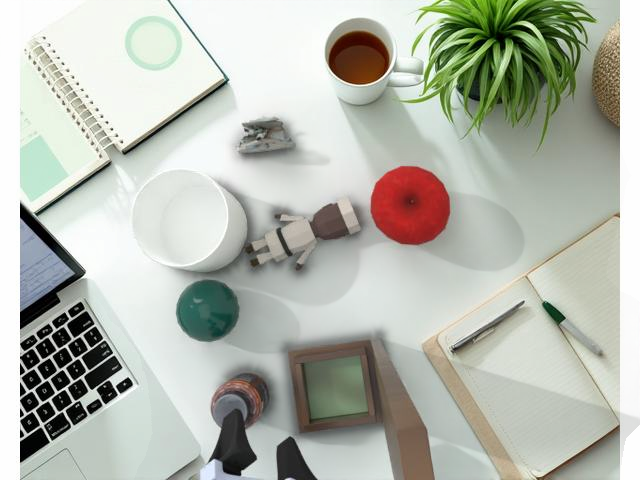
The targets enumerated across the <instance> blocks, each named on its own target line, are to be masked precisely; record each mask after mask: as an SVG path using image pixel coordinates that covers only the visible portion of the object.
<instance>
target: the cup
mask: <svg viewBox="0 0 640 480" xmlns="http://www.w3.org/2000/svg"><path fill="white" fill-rule="evenodd" d="M130 229H131V232H132V236H133V239H134V240H135V242H136V245H137V246H138V248H139V249H140V250H141V251H142V253H143V254H144V255H145V256H147V257H148V258H149V259H150V260H152V261H153V262H154V263H157V264H159V265H162V266H165V267H168V268H173V269H178V270H184V271H185V270H186V271H189V272H197V273H198V272H199V273H200V272H201V273H209V272H214V271H217V270H220V269H222V268H225V267H226V266H228V265H229V264H231V263H232V262H234V260H235V259H236V258H237V257H238V256H239V255H240V253H241V251H242V250H243V248H244V247H245V244H246V241H247V238H248V219H247V216H246V212H245V210H244V208H243V206H242V205H241V203H240V202H239V201H238V200H237V198H236V197H235V196H234V195H233V194H232V193H231V192H229V191H228V190H227V189H225V188H224V187H223V186H222V185H220V184H219V183H218V182H217V181H216V180H214V179H213V178H211V176H209V175H208V174H206V173H205V172H202V171H200V170H197V169H192V168H188V167H175V168H171V169H166V170H164V171H161V172H158V173H157V174H155V175H154V176H152V177H151V178H149V179H148V180H147V181H146V183H145V184H143V186H142V187H140V189H139V191H138V192H137V194H136V195H135V198H134V200H133V204H132V206H131V213H130Z"/></svg>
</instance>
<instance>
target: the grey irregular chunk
mask: <svg viewBox="0 0 640 480" xmlns="http://www.w3.org/2000/svg"><path fill="white" fill-rule="evenodd" d="M279 120H280V118H278V117H276V116H273V117H267V116H265V115H262V117H260V118H257V119H253V120H252V119H250V120H249V121H248V122H241V126H242V127H243V130H244V132H245V133H248V135H244V136H243V137H242V138H241V139H238V140H237V142H238V146H237V145H235V147H236V151H237V153H238V154H250V153H260V152H270V151H277V150H280V149H291V148H296V147H297V145H296V144H297V143H296V142H294V141H292V138H291V137H290V138H288V137H286V138H285V133H286V131H285V128H284V126H283V125H284V122H283V121H279Z"/></svg>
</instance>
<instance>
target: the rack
mask: <svg viewBox="0 0 640 480" xmlns="http://www.w3.org/2000/svg"><path fill="white" fill-rule="evenodd" d="M287 354H288V360H289V367H290V368H289V369H290V374H291V381H292V388H293V396H294V404H295V411H296V419H297V425H298V432H299V434H306V433H313V432H322V431H330V430H336V429H337V430H338V429H343V428H352V427H358V426H365V425H372V424H373V425H374V424H380V423H382V426H383V430H384V436H385V442H386V446H387V447H386V448H387V451H388V456H389V462H390V466H391V467H390V468H391V472H392V476H393V480H436V477H435V471H434V464H433V458H432V453H431V445H430V438H429V434H428V429H427V427H426V424H425V423H424V420H423V419H422V417H421V415H420V413H419V411H418V409H417V407H416V406H415V404H414V402H413V400H412V398H411V396H410V394H409V392H408V390H407V388H406V386H405V385H404V382H403V381H402V379H401V377H400V375H399V374H398V371H397V370H396V368H395V366H394V363H393V362H392V360H391V358H390V356H389V354H388V352H387V351H386V349H385V347H384V345H383V343H382V341H381V339H380V337H377V338H368V339H361V340H354V341H348V342H341V343H333V344H326V345H321V346H320V345H319V346H314V347H306V348H299V349H291V350H288V351H287Z"/></svg>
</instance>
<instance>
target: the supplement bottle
mask: <svg viewBox="0 0 640 480" xmlns="http://www.w3.org/2000/svg"><path fill="white" fill-rule="evenodd" d="M269 401H270V391H269V387H268V385H267V384H266V382H265V381H264V379H263V378H261V377H260V376H259V375H257V374H255V373H251V372H244V373H238V374H237V375H235V376H233V377H231V378H230V379H229V380H227V381H226V382H224V383H223V384H222V385H221V386H219V387H218V388H217V389H216V390H215V392H214V394H212V397H211V401H210V414H211V417H212V420H213V421H214V423H215V425H217V426H218V427H219V428H220V429H221V427H222V423H223V418H224V417H225V416H227V415H228V414H229V413H230V412H231V411H233V410H234V409H235V408H237V409H239V410H241V412H242V414H243V417H244V424H245V431H246V430H249V428H251V427H252V426H253V425H254V424H255V423H256V422H257V421H258V420H259V418H260V416H261V415H262V414H263V413H264V412H265V410H266V409H267V407H268V404H269Z"/></svg>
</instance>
